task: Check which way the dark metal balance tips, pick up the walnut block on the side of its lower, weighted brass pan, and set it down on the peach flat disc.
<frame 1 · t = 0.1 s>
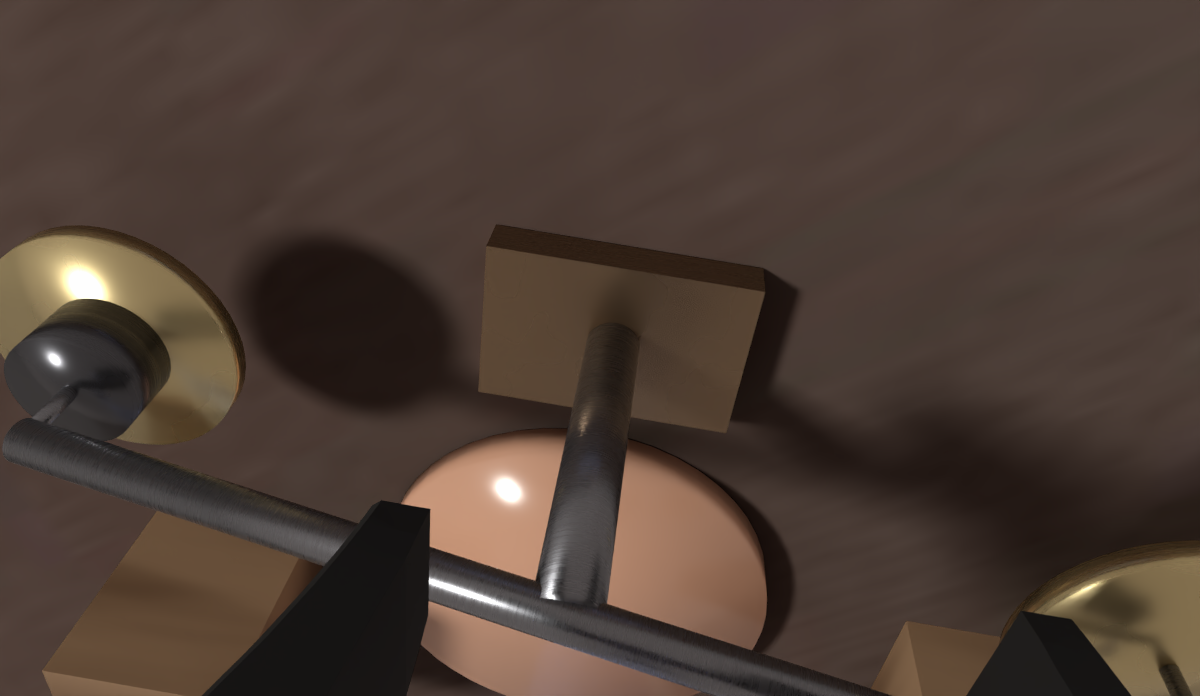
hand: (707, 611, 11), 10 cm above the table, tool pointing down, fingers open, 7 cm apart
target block: (251, 557, 27), on the table
balance: (617, 320, 21), on the table
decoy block: (955, 678, 27), on the table
peach flat disc: (575, 571, 26), on the table
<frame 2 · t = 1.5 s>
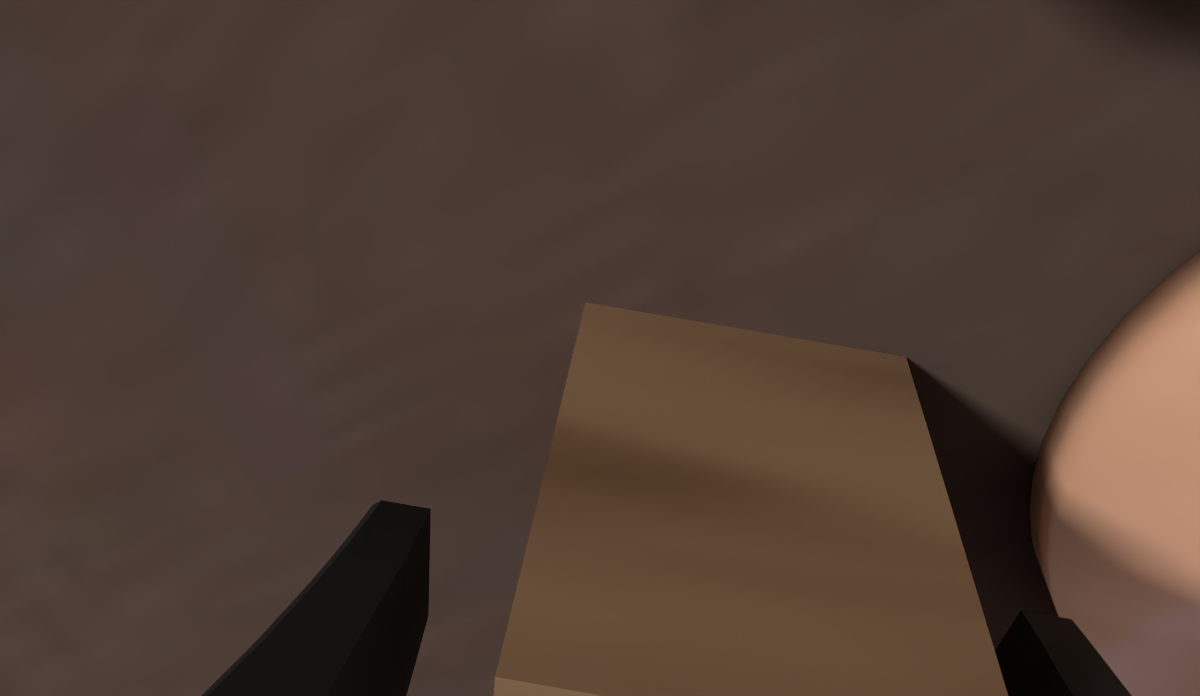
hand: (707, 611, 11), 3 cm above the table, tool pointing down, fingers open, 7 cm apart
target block: (712, 448, 13), on the table
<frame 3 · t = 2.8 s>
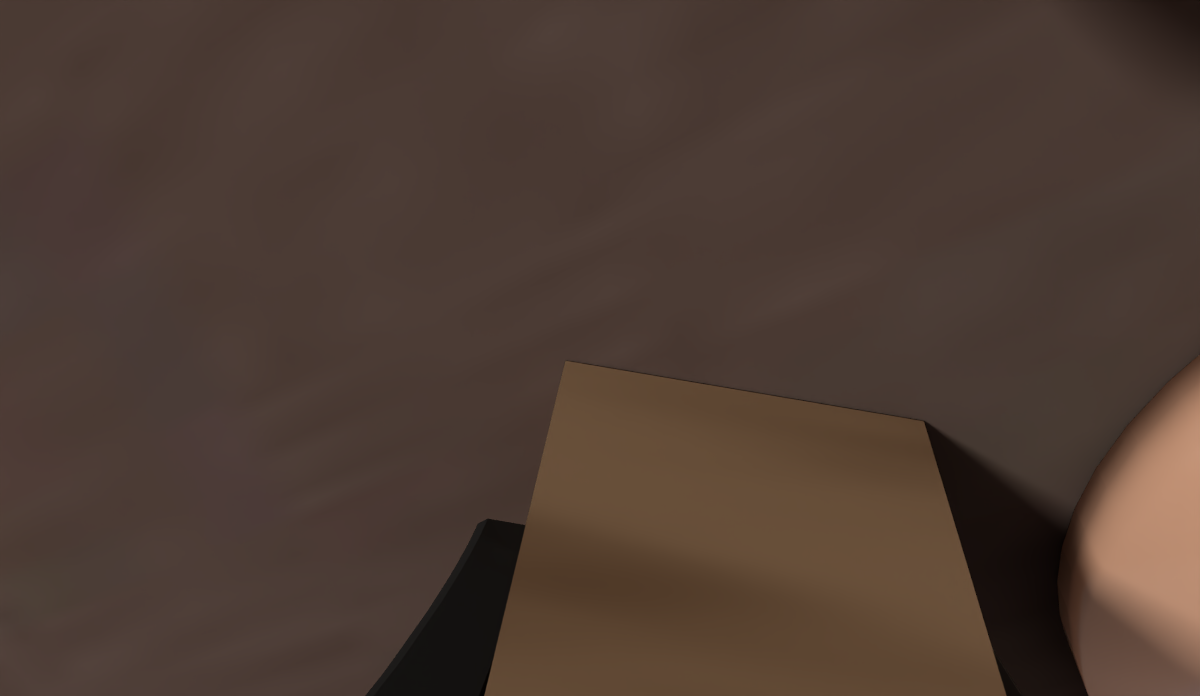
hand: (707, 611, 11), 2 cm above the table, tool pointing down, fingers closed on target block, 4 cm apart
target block: (708, 516, 12), on the table, touching gripper
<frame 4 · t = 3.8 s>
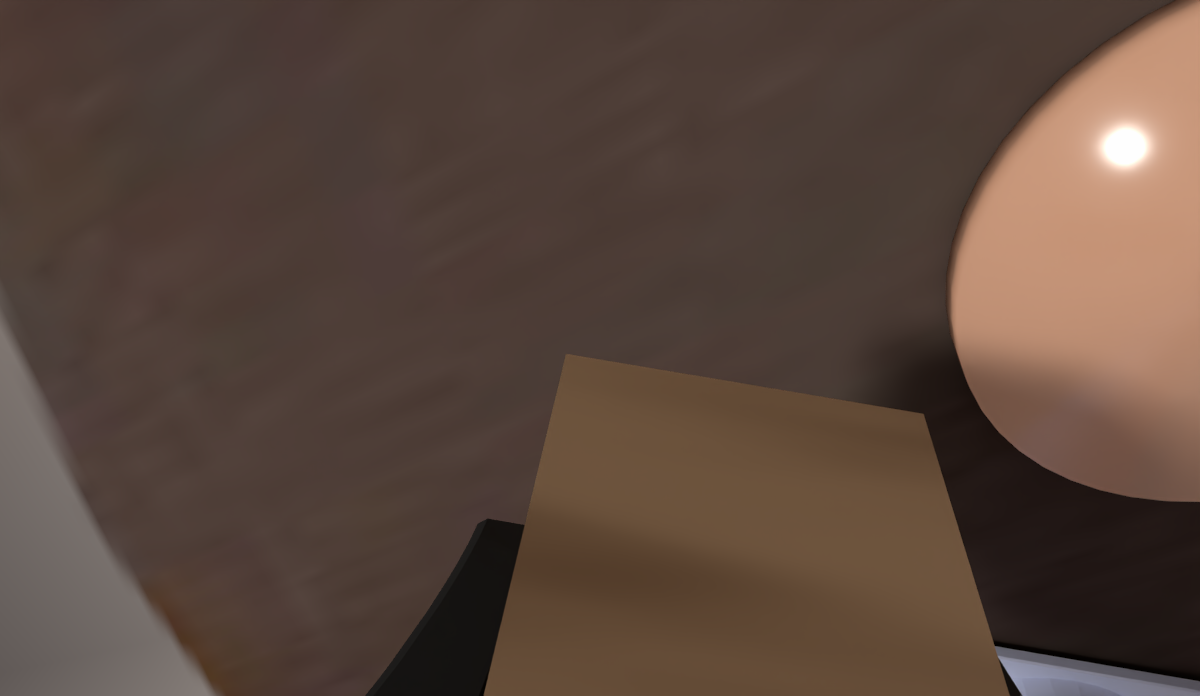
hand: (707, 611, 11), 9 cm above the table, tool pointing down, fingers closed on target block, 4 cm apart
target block: (708, 509, 12), point 7 cm above the table, touching gripper
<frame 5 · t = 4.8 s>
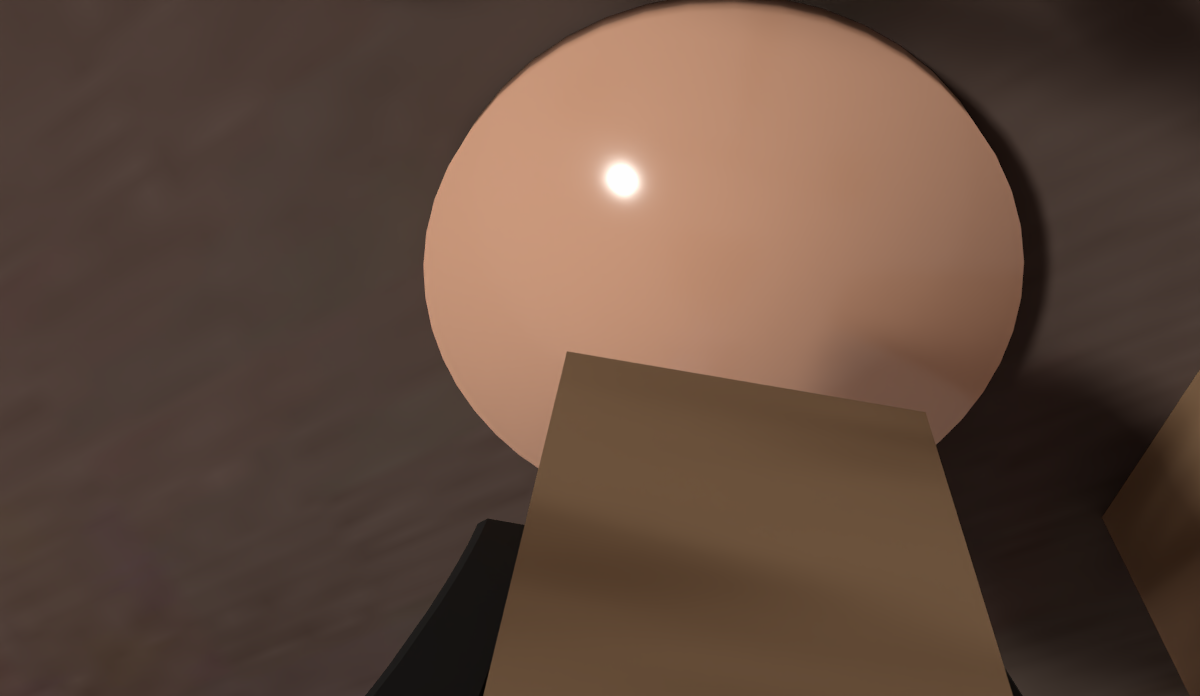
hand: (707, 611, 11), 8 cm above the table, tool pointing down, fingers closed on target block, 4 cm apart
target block: (709, 508, 12), point 6 cm above the table, touching gripper
peach flat disc: (710, 286, 17), on the table
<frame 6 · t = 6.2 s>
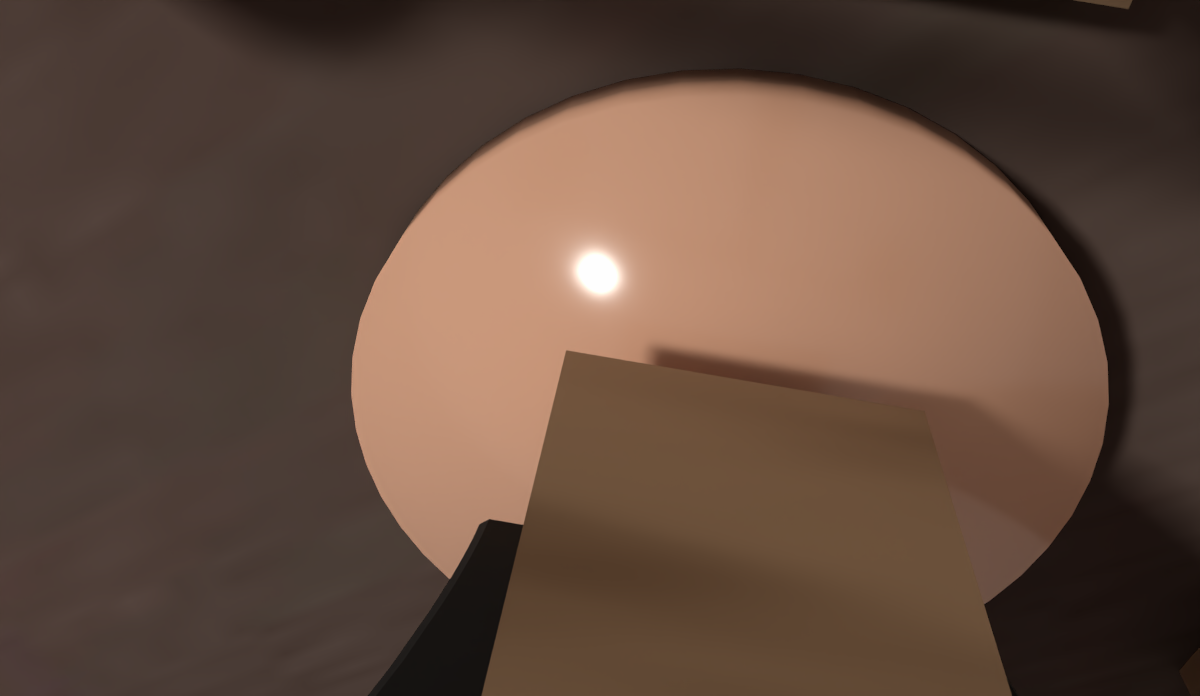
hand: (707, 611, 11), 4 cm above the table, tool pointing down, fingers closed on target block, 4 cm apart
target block: (708, 507, 12), point 2 cm above the table, touching gripper
peach flat disc: (709, 412, 14), on the table
when the fingers open (4 cm above the table, at t = 6.3 s): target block drops 1 cm, resting on peach flat disc.
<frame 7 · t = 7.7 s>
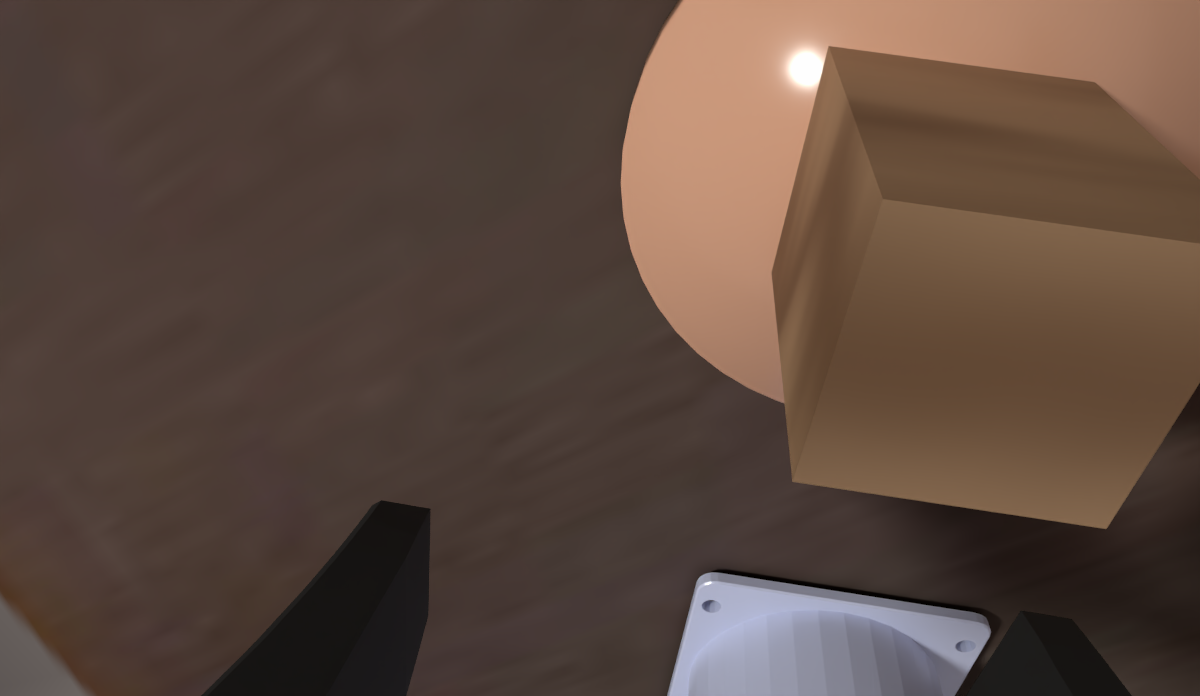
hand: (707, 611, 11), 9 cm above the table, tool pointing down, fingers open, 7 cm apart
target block: (919, 185, 16), point 1 cm above the table, touching peach flat disc
peach flat disc: (907, 168, 17), on the table
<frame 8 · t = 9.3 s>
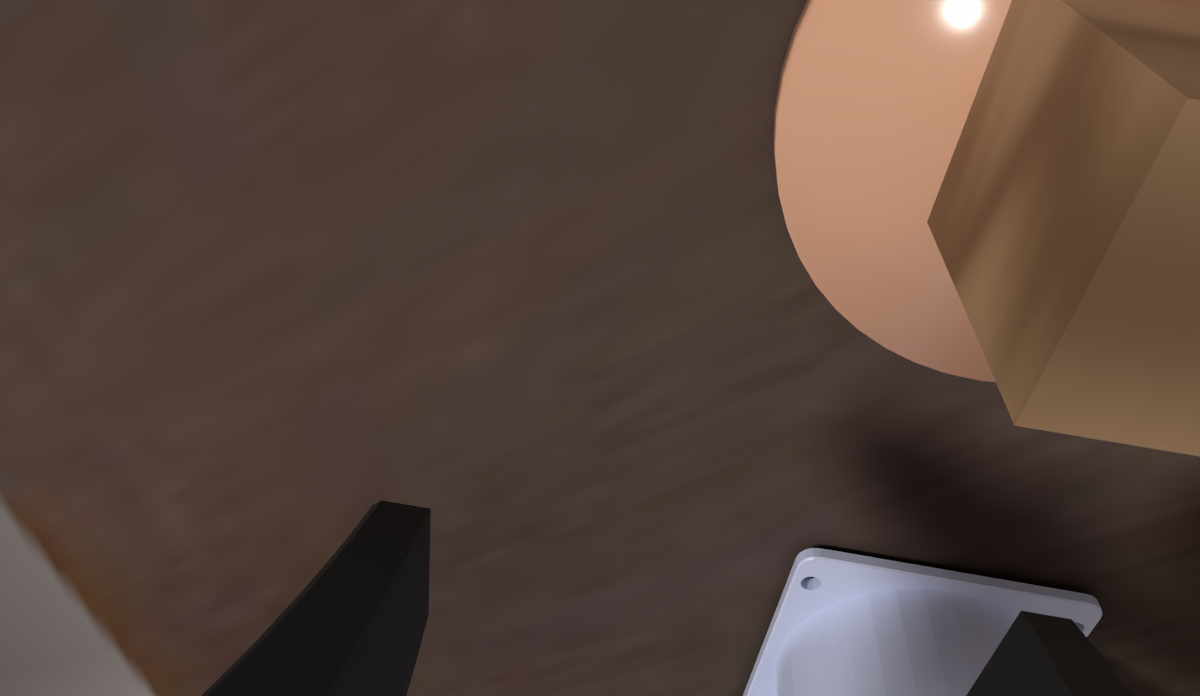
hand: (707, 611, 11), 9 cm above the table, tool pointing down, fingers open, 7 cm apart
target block: (1099, 127, 15), point 1 cm above the table, touching peach flat disc
peach flat disc: (1077, 113, 16), on the table
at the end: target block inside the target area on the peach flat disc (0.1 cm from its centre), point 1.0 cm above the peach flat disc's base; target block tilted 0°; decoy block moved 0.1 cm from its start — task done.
